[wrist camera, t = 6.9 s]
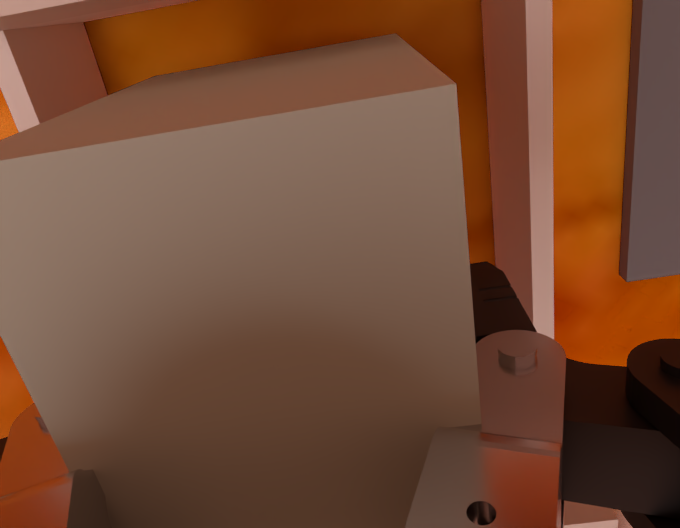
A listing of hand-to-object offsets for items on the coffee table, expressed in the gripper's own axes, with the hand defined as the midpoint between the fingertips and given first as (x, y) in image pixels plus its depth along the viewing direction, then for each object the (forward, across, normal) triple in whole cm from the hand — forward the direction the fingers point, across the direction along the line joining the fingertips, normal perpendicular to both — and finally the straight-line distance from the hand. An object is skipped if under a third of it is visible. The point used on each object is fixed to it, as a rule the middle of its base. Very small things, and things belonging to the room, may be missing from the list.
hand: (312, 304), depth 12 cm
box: (+1, 0, 0) cm, 1 cm away
